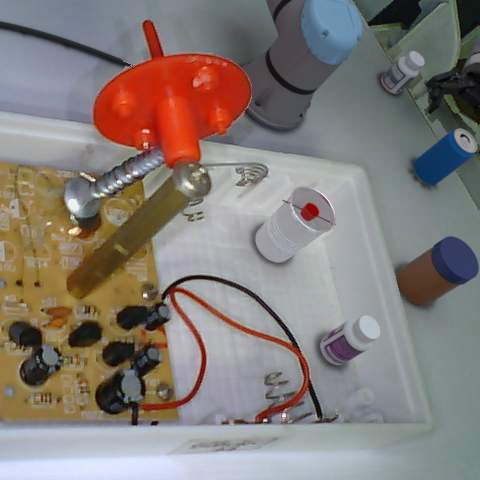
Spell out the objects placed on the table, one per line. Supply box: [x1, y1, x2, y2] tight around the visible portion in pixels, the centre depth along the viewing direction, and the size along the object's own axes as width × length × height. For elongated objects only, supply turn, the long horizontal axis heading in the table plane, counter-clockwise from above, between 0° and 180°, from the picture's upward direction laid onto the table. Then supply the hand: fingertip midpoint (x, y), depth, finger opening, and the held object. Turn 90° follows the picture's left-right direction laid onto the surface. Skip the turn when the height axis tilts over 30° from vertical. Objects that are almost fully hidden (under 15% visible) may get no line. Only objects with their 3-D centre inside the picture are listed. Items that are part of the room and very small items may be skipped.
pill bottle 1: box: [319, 314, 381, 366], centre depth 124 cm, size 5×5×10 cm
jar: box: [396, 246, 461, 307], centre depth 140 cm, size 8×8×11 cm
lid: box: [431, 235, 480, 286], centre depth 136 cm, size 8×8×2 cm
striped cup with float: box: [254, 185, 337, 264], centre depth 129 cm, size 10×8×12 cm
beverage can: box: [412, 128, 478, 186], centre depth 157 cm, size 6×6×12 cm
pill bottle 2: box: [380, 50, 426, 95], centre depth 168 cm, size 5×5×9 cm
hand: (458, 130), depth 161 cm, fingers open, 13 cm apart
